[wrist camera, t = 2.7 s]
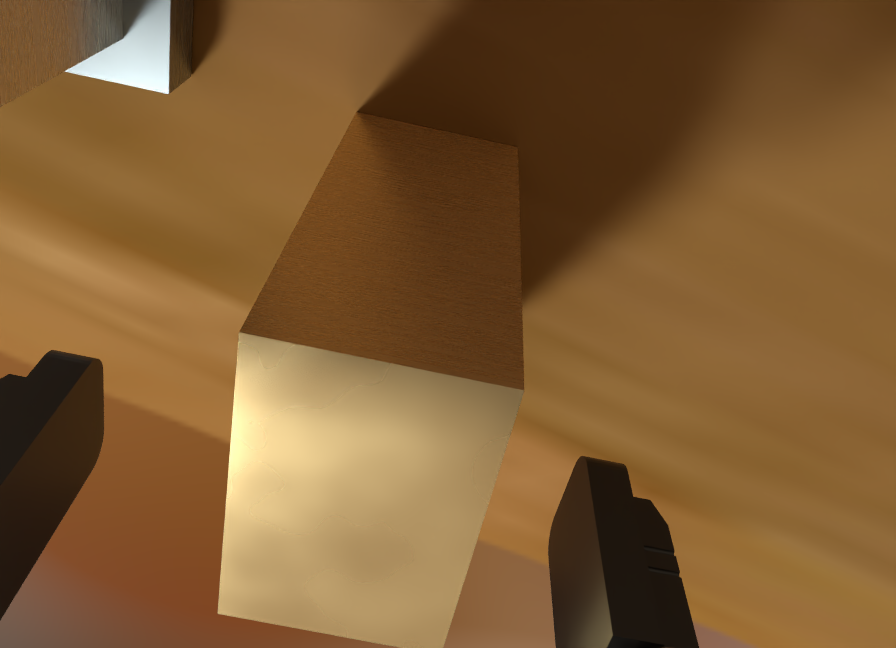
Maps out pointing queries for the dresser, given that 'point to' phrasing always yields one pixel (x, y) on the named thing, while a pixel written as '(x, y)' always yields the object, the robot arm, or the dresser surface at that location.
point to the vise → (95, 42)
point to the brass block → (377, 390)
